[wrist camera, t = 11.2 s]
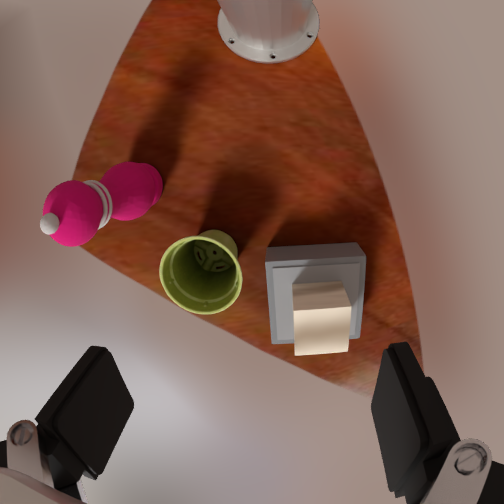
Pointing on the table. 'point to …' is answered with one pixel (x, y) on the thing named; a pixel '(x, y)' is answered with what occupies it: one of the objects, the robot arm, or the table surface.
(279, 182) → the table surface
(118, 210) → the pepper mill
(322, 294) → the birch block
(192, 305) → the plant pot
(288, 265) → the slate stand
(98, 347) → the robot arm
